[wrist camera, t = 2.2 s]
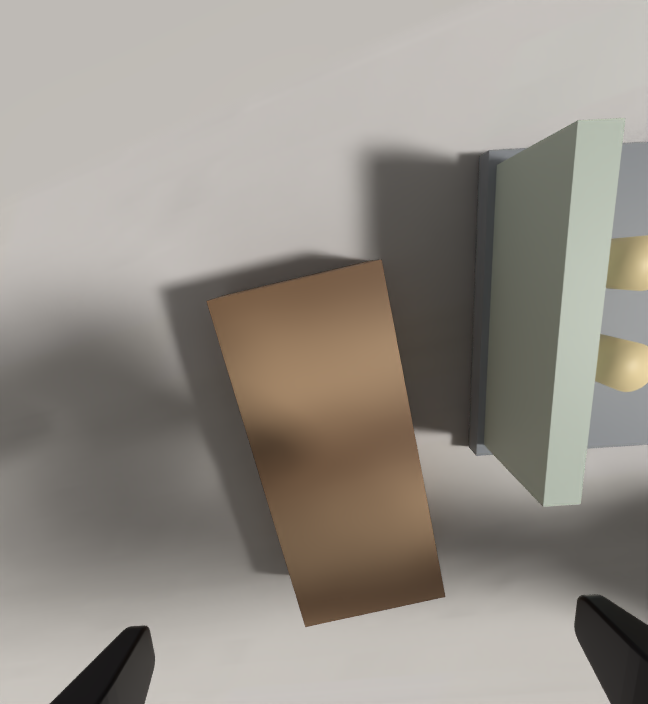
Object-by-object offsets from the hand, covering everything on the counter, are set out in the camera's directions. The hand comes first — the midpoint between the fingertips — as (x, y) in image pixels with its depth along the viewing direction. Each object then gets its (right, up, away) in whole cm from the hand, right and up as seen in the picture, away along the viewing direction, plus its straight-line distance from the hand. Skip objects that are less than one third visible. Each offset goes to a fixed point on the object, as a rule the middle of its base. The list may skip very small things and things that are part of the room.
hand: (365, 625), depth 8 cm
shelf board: (0, +2, +9) cm, 9 cm away
